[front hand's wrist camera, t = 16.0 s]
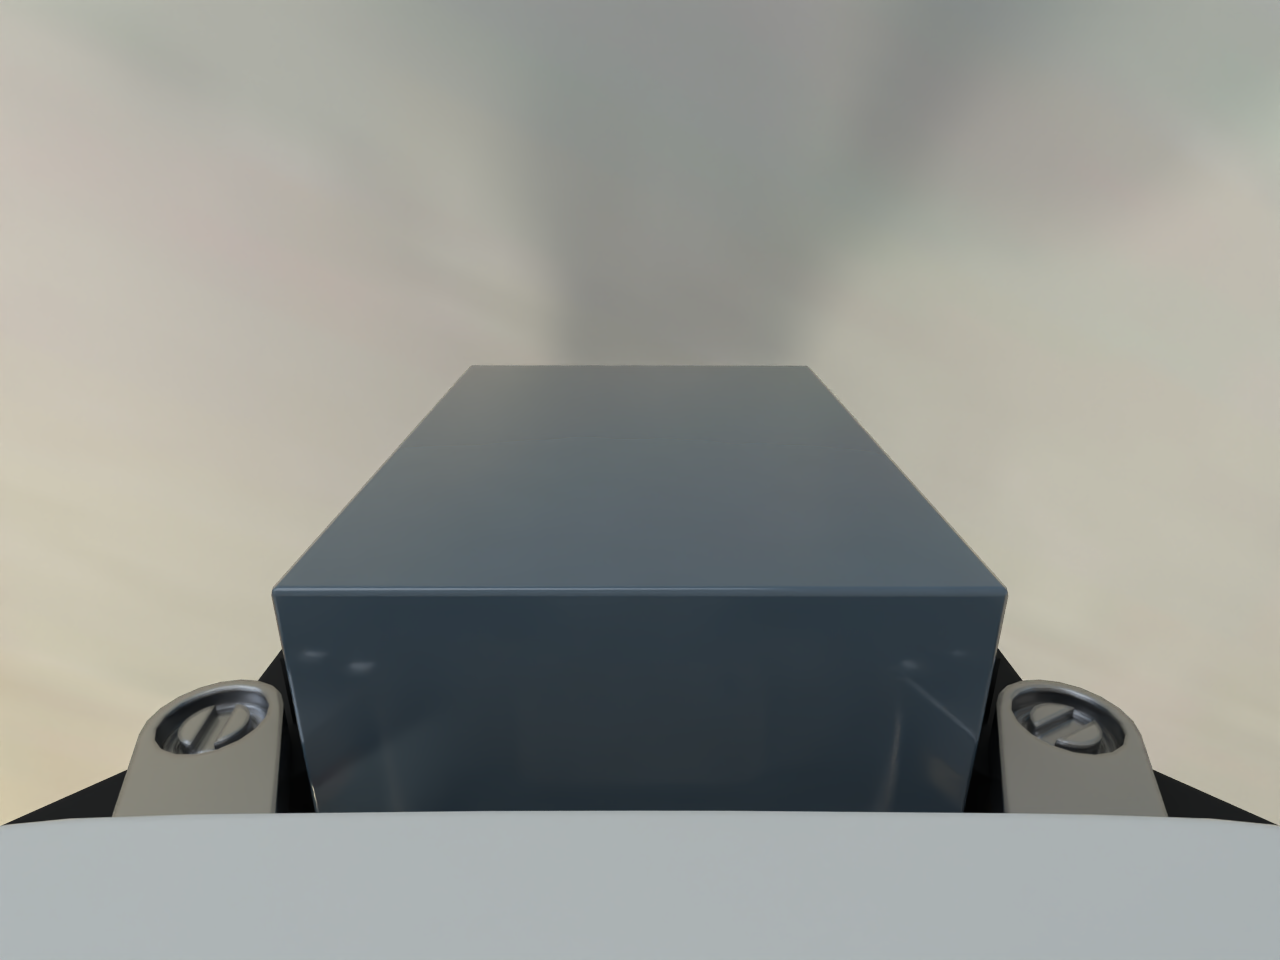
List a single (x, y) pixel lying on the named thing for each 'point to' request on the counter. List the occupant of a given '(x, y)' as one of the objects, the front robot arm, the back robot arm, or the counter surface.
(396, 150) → the counter surface
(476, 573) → the brick
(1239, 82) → the counter surface
